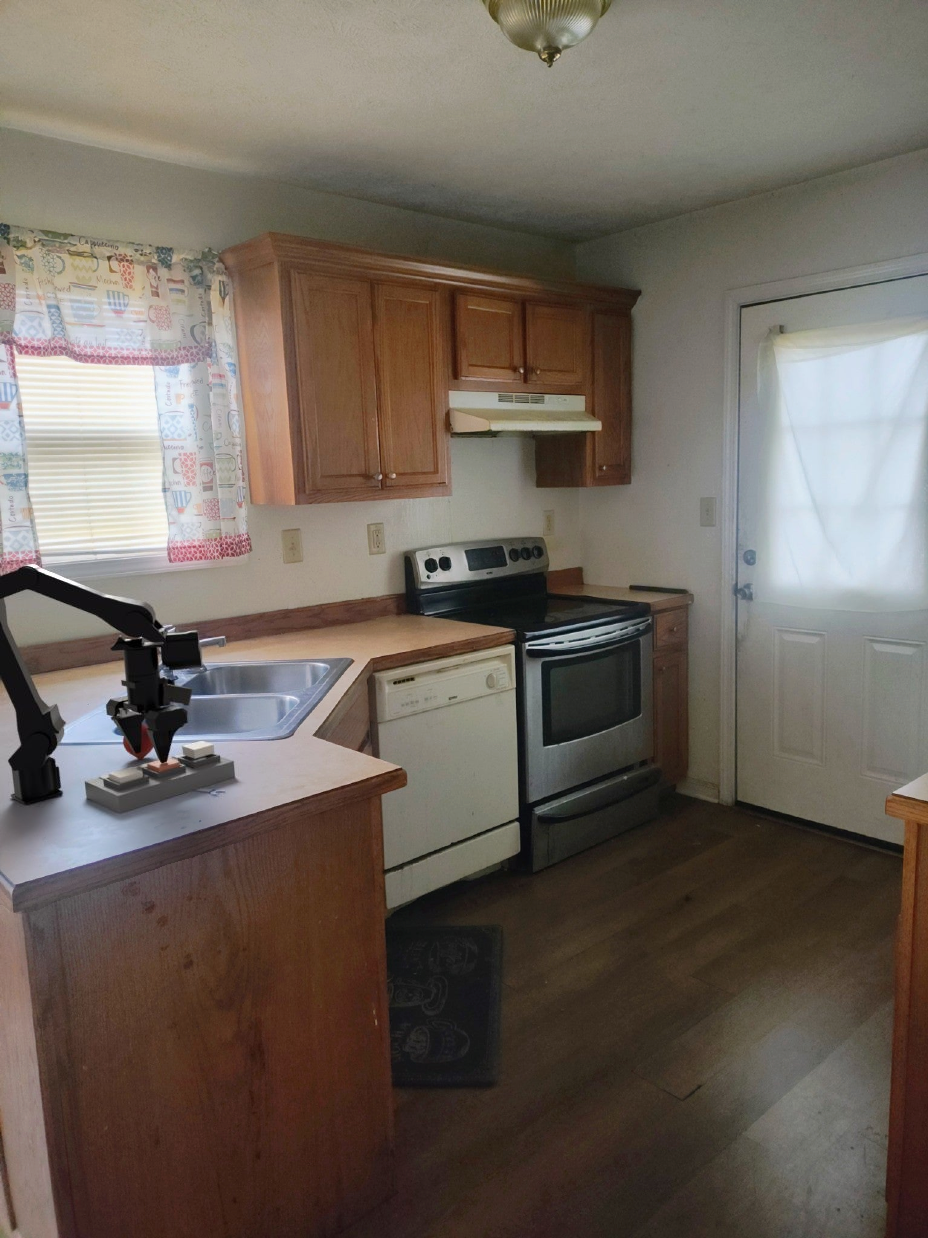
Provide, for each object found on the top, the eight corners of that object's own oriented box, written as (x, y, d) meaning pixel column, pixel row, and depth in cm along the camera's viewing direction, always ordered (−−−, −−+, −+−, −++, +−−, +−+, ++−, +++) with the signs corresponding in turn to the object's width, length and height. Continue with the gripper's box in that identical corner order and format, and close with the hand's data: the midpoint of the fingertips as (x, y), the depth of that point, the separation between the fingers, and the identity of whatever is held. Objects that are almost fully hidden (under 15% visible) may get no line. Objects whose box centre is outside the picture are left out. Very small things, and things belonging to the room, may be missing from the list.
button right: (194, 758, 154) (194, 750, 154) (182, 754, 157) (182, 746, 156) (214, 753, 157) (213, 744, 157) (202, 749, 160) (201, 740, 159)
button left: (120, 787, 144) (119, 777, 144) (109, 782, 147) (108, 773, 146) (143, 780, 147) (142, 771, 147) (131, 775, 150) (130, 767, 149)
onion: (146, 752, 174) (142, 714, 173) (162, 757, 170) (158, 718, 169) (119, 760, 170) (115, 721, 168) (135, 765, 166) (131, 725, 165)
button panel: (120, 813, 141) (117, 790, 140) (86, 797, 149) (84, 775, 148) (235, 776, 157) (233, 755, 157) (199, 764, 165) (197, 744, 164)
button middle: (159, 776, 149) (158, 767, 149) (147, 772, 152) (146, 763, 152) (180, 770, 152) (179, 761, 152) (168, 766, 155) (167, 757, 154)
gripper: (211, 670, 152) (218, 755, 154) (157, 659, 164) (164, 738, 167) (153, 682, 144) (161, 772, 146) (100, 670, 156) (109, 753, 158)
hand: (150, 757), depth 155 cm, fingers open, 9 cm apart
